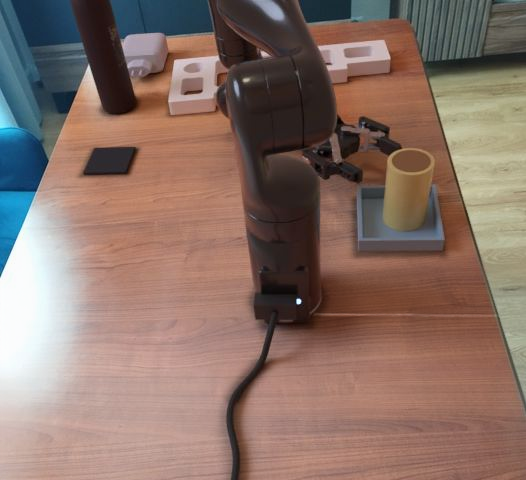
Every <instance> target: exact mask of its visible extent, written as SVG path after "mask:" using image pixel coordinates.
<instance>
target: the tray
mask: <svg viewBox="0 0 526 480" xmlns="http://www.w3.org/2000/svg"><path fill="white" fill-rule="evenodd" d="M384 191H385V184H384V185H383V184H381V185H357V186H356V217H357V218H356V219H357V220H356V221H357V222H356V223H357V251H358V252H431V251H432V252H443V250H444V246H445V243H446V237H445V233H444V227H443V226H444V225H443V220H442V213H441V209H440V202H439V197H438V191H437V184H436V183H434V184H433V183H432V184H431V190H430V196H429V202H428V208H427V214H426V220H425V223H424V224H423V225H422V226H421V227H420V228H418V229H416V230H412V231H397V230H394V229H391V228H389V227H388V226H387V225H385V223H384V222H383V220H382V212H383V202H384Z"/></svg>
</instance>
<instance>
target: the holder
mask: <svg viewBox="0 0 526 480" xmlns="http://www.w3.org/2000/svg"><path fill="white" fill-rule="evenodd" d="M317 46H318V48H319V50H320V52H321V54H322V57H323V59H324V61H325V64H326V66H327V69H328V71H329V74H330V77H331V80H332V84H341V83H347V82H348V77H357V76H367V75H381V74H389V73H390V71H391V55H390V52H389V49H388V46H387V43H386V41H385V40H384V39H376V40H368V41H357V42H356V41H355V42H345V43H336V44H325V45H317ZM260 52H261V54H262V57H263V58H268V57H271V56H270V55H269V54H267V53H266V52H264V51H262V50H261V51H260ZM327 64H329V65H327ZM228 71H229V69H226V68H225V67H224V66H223V65H222V64H221V62H220V60H219V57H218V55H210V56H202V57H189V58H179V59H174V61H173V67H172V74H171V80H170V85H169V86H170V87H169V93H168V98H167V99H168V100H167V102H168V107H169V112H170V115H171V116H177V115H179V116H180V115H188V114H190V115H191V114H199V113H200V114H201V113H210V112H211V113H212V112H215V111H216V108H217V107H218V106H217V103H216V92H217V89H218V87H219V86H220V85H219V86H218V76H219V74H225V73H228ZM197 91H202V92H200V93H193V94H185V93H187V92H197Z"/></svg>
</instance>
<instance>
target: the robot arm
mask: <svg viewBox="0 0 526 480" xmlns="http://www.w3.org/2000/svg"><path fill="white" fill-rule="evenodd" d="M206 3H207V6H208V10H209V15H210V19H211V25H212V30H213V35H214V41H215V47H216V50H217V51H216V52H217V56H218V57H219V60H220V62H221V64H222V65H223V66H224V67H225V68H226V69H229V71H228V72H227V74H226V77H225V81H223V82H221V84H220V85H219V87H218V89H217V92H216V103H217V106H216V107H217V108H218V110H219V112H220V113H221V114H222V115H223V116H224V117H225V118H226V119H227V120H229V125H230V129H231V135H232V141H233V144H234V150H235V155H236V160H237V161H236V162H237V167H238V176H239V183H240V192H241V201H242V210H243V217H244V225H245V232H246V240H247V247H248V248H247V249H248V255H249V262H250V263H249V264H250V270H251V276H252V284H253V290H254V292H253V293H254V298H253V304H252V305H253V311H254V319H255V320H256V321H258V320H260V321H261V320H263V322H264V324H268V327H267V330H266V334H265V337H264V342H263V345H262V350H261V353H260V356H259V358H258V360H257V362H256V364H255V365H254V367H253V368H252V370H251V371H250V372H249V373H248V375H247V376H246V377H245V378H244V379H243V380H242V381H241V382H240V383H239V384H238V385H237V387H236V388H235V389H234V391H233V392H232V394H231V396H230V397H229V401H228V404H227V409H226V415H225V422H226V423H225V424H226V431H227V434H228V435H227V436H228V439H229V444H230V447H231V454H232V455H231V456H232V465H231V475H230V480H239V475H240V468H241V467H240V466H241V455H240V454H241V453H240V447H239V442H238V438H237V435H236V431H235V424H234V411H235V407H236V403H237V401H238V399H239V397H240V396H241V394H242V393H243V391H244V390H245V389H246V388H247V387H248V386H249V385H250V383H252V381H253V380H254V379H255V378H256V376H257V375H258V374H259V373H260V371H261V370H262V368H263V367H264V366H265V365H264V364H265V362H266V360H267V358H268V355H269V352H270V347H271V345H272V341H273V337H274V334H275V329H276V325H277V324H309V323H310V319H311V317H312V316H313V315H314V314H315V312H316V311H317V310H318V309H319V307H320V305H321V303H322V299H323V291H322V257H321V255H322V254H321V253H322V250H321V247H322V246H321V244H322V242H321V241H322V240H321V239H322V238H321V217H322V215H321V179H322V180H326V181H327V180H330V179H331V176H335V177H341V178H343V179H345V180H347V181H348V182H350V183H355V184H357V185H359V184H360V183H362V182H363V178H364V172H363V170H362V168H360V167H358V166H356V165H354V164H353V163H351V162H349V161H347V160H346V159H348V158H349V157H350V156H352V155H355V154H356V153H368V152H369V151H379V152H380V153H382V154H384V155H386V156H387V157H389V156H390V155H391V154H392V153H393V152H395V151H397V150H400V149H403V147H402V144H401V143H400V142H397V141H395V140H393V139H391V138H390V131H391V127H390V126H388V125H386V124H383V123H381V122H379V121H376V120H374V119H372V118H370V117H367V116H364V115H363V116H359V117H358V122H357V123H355V124H347V123H345V122H344V120H343V119H342V118H341V117H340V115H339V114H338V105H337V97H336V93H335V88H334V83H332V80H331V77H330V74H329V71H328V69H327V66H326V65H327V63H325V61H324V59H323V57H322V54H321V52H320V50H319V48H318V46H319V45H318V44H317V42H316V40H315V38H314V36H313V34H312V31H311V30H310V28H309V25H308V23H307V21H306V18H305V17H304V14H303V12H302V8H301V6H300V2H299V0H206ZM262 51H264V52H266V53H267V54H269V55H270V56H271V57H268V58H263V57H262V54H261V52H262ZM360 137H362V138H363V144H361V138H360ZM370 140H373V141H375V142H370ZM297 151H301V158H302V159H300V158H297V157H294V156H289V155H283V154H285V153H291V152H297ZM320 178H321V179H320Z"/></svg>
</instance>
